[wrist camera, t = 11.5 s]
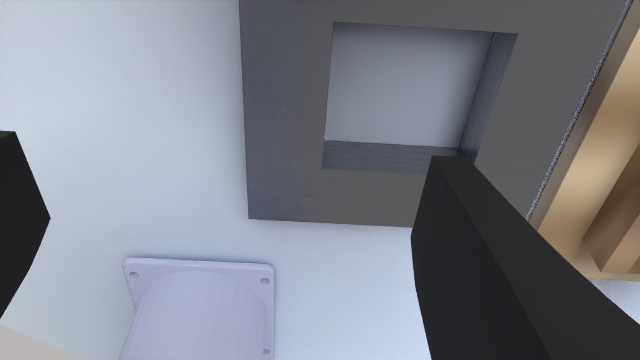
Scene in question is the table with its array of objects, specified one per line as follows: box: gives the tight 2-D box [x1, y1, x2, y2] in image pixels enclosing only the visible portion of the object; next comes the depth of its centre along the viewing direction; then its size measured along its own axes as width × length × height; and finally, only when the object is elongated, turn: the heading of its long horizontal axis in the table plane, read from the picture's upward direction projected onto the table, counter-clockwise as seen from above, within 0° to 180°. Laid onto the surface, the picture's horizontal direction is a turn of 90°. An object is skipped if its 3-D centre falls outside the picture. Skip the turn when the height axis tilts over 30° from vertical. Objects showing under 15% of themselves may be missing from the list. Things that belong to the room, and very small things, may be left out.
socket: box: [239, 0, 627, 227], centre depth 18 cm, size 12×12×2 cm
